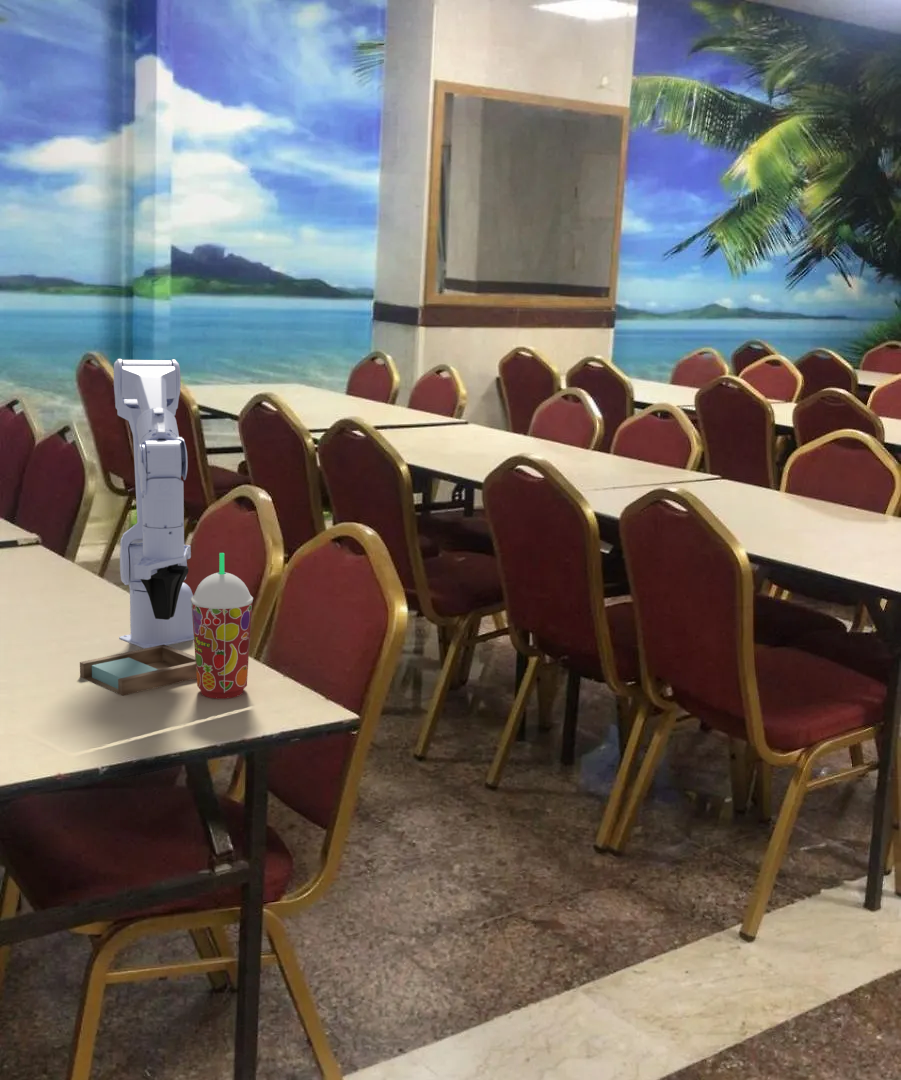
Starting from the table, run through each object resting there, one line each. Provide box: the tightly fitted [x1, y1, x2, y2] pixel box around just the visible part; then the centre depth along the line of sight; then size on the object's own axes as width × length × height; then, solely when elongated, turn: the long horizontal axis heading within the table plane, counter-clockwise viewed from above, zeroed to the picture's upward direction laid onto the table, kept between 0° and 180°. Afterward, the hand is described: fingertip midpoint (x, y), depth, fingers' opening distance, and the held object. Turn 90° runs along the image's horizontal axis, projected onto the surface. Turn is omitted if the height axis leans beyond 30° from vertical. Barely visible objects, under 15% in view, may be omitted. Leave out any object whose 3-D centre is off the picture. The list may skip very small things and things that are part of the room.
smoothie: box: [191, 552, 254, 700], centre depth 182 cm, size 8×8×20 cm
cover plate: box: [92, 657, 158, 689], centre depth 187 cm, size 6×8×2 cm
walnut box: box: [79, 645, 197, 696], centre depth 189 cm, size 14×11×2 cm
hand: (164, 617), depth 190 cm, fingers closed
